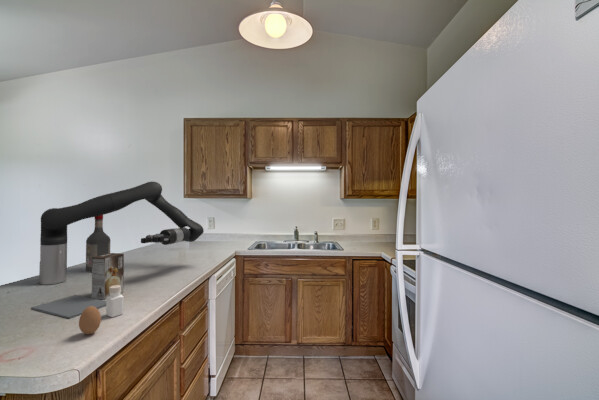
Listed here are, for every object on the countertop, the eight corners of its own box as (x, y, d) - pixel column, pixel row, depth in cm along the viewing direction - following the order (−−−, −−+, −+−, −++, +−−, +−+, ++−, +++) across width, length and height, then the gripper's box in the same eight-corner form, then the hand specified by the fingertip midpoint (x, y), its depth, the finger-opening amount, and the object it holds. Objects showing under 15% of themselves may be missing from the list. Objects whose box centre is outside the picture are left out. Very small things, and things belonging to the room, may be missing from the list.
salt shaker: (111, 318, 94) (111, 289, 94) (105, 315, 96) (105, 286, 96) (124, 314, 97) (124, 286, 97) (118, 311, 99) (118, 284, 99)
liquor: (92, 273, 145) (93, 214, 145) (83, 270, 150) (84, 213, 150) (111, 269, 153) (112, 213, 153) (103, 267, 158) (104, 212, 158)
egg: (104, 329, 86) (105, 303, 86) (92, 338, 81) (93, 310, 80) (87, 329, 86) (87, 303, 85) (74, 338, 80) (74, 309, 80)
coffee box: (110, 290, 120) (111, 252, 120) (124, 292, 118) (124, 253, 118) (90, 298, 111) (91, 256, 111) (104, 300, 110) (105, 257, 109)
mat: (31, 309, 99) (31, 307, 99) (75, 296, 113) (75, 294, 113) (69, 318, 92) (69, 317, 92) (111, 304, 106) (111, 302, 106)
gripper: (161, 228, 147) (131, 231, 131) (182, 229, 143) (153, 233, 126) (161, 242, 147) (131, 248, 131) (181, 244, 143) (153, 250, 127)
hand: (142, 240), depth 129 cm, fingers closed
